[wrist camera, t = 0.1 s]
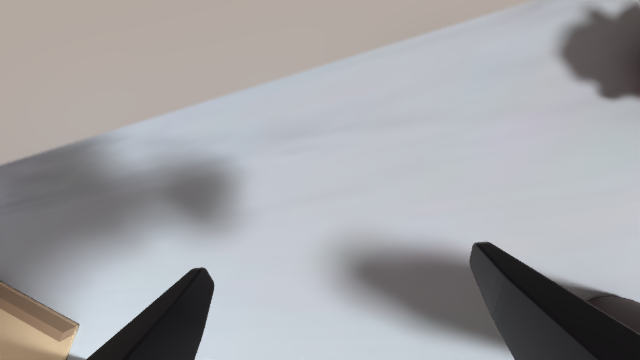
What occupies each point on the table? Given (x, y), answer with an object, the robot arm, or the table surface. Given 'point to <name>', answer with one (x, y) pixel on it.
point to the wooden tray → (32, 329)
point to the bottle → (620, 310)
